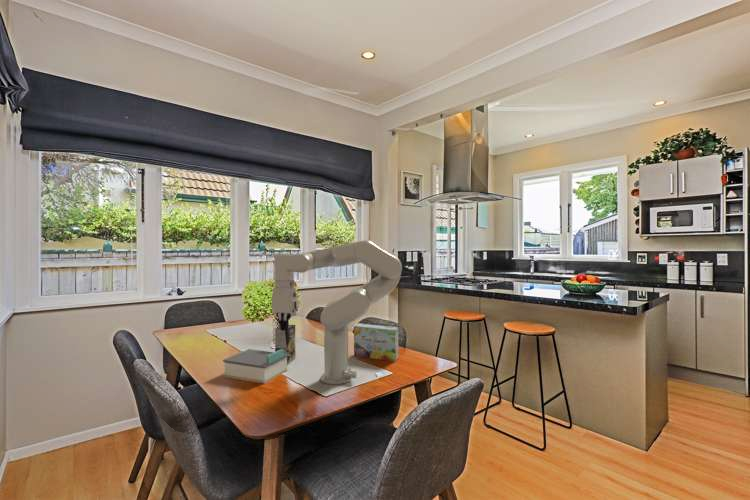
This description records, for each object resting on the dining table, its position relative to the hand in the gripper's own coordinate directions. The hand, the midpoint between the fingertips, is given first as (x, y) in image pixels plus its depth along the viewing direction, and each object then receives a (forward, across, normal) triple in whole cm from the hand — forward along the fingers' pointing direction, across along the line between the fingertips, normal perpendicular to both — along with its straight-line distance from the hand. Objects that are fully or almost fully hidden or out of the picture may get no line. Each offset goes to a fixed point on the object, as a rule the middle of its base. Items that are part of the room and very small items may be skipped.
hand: (284, 329), depth 153 cm
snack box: (+20, -25, -38) cm, 50 cm away
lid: (+14, +14, 0) cm, 20 cm away
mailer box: (+20, +14, 0) cm, 25 cm away
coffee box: (+20, +12, -18) cm, 30 cm away
